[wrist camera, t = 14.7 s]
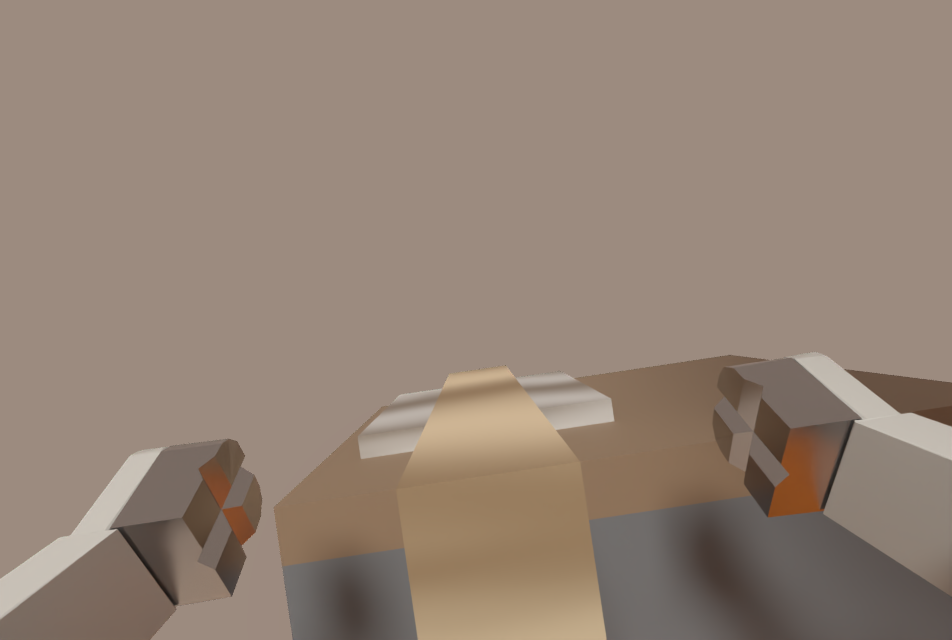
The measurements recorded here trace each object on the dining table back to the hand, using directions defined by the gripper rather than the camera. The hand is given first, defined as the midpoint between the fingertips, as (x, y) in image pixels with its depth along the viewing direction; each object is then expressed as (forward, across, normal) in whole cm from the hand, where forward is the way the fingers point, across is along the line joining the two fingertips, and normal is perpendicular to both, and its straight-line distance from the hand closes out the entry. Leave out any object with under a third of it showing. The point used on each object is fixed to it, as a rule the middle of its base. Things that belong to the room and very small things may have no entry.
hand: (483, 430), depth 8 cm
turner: (+6, 0, +6) cm, 8 cm away
